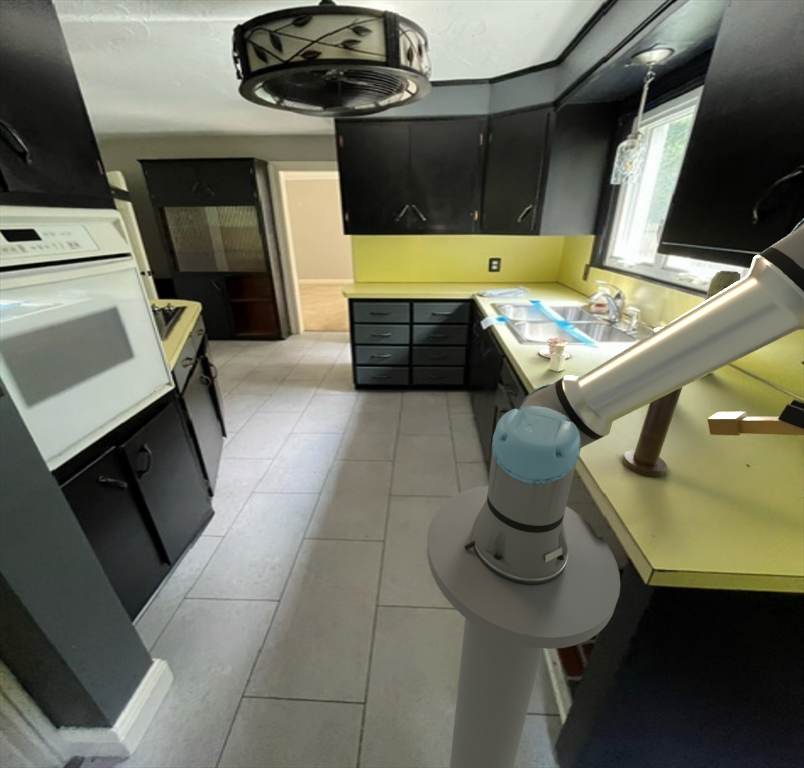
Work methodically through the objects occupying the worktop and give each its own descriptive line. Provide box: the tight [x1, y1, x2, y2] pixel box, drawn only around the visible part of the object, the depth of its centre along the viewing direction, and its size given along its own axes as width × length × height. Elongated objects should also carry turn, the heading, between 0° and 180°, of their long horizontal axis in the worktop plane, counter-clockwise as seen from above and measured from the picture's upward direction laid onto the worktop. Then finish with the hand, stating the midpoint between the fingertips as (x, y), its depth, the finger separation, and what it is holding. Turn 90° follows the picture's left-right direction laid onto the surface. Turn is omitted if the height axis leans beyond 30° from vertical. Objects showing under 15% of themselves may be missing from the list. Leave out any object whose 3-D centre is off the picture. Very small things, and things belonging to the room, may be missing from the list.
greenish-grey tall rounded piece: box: [703, 270, 742, 302], centre depth 126 cm, size 9×12×35 cm
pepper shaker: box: [548, 344, 567, 372], centre depth 132 cm, size 4×4×10 cm
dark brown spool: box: [622, 326, 683, 478], centre depth 74 cm, size 10×10×30 cm
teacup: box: [538, 337, 571, 360], centre depth 148 cm, size 12×12×6 cm
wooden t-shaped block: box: [706, 411, 804, 436], centre depth 59 cm, size 5×18×3 cm, turn 33°
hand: (786, 409), depth 58 cm, fingers closed on wooden t-shaped block, 2 cm apart
